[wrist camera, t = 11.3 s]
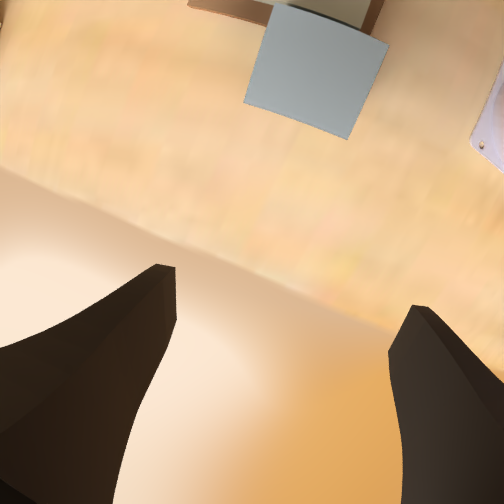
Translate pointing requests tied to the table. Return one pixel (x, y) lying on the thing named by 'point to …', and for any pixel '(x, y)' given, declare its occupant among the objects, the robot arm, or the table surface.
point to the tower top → (331, 9)
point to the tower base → (269, 11)
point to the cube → (314, 70)
